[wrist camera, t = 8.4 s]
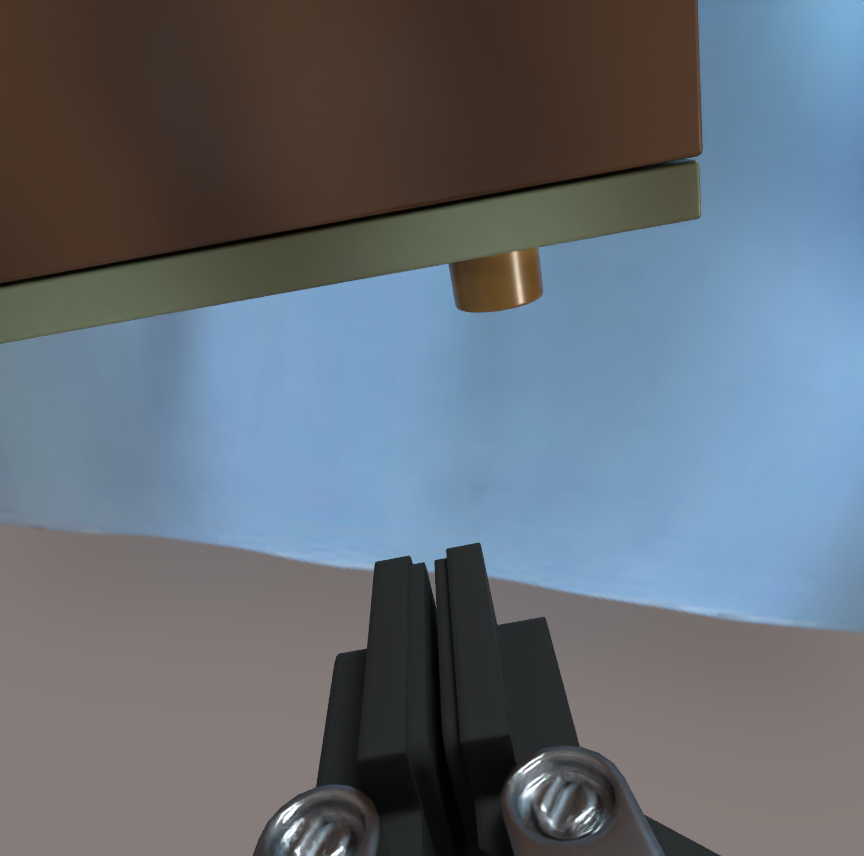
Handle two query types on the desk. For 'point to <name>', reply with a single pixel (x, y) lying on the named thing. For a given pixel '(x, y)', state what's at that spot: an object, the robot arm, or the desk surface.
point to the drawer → (366, 253)
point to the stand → (316, 112)
